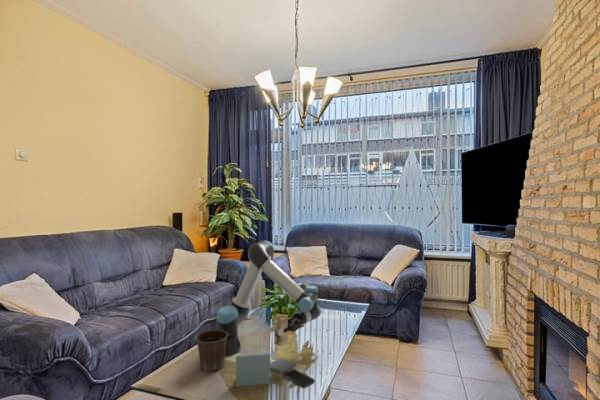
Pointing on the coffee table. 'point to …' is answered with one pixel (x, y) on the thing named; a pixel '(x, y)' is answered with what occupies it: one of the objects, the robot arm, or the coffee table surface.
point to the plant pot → (212, 349)
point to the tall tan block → (279, 323)
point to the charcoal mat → (281, 365)
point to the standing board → (252, 369)
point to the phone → (299, 378)
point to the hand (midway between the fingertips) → (274, 331)
